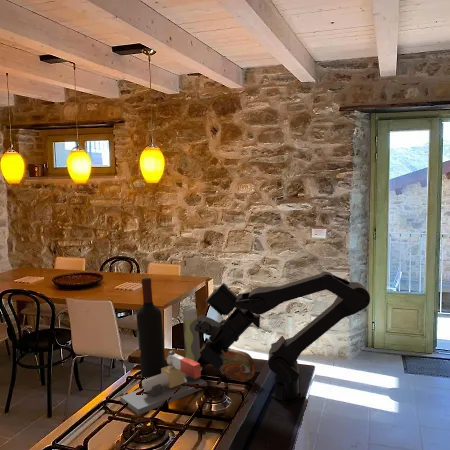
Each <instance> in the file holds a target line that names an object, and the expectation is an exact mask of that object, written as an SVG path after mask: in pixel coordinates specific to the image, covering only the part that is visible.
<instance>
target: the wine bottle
mask: <svg viewBox="0 0 450 450" xmlns="http://www.w3.org/2000/svg"><path fill="white" fill-rule="evenodd" d="M141 288H142V299H143V300H142V306H141V307H140V308H139V309H138V311H137V312H136V325H137V327H136V328H137V340H138V351H139V362H140V364H139V365H140V375H141V378H143V377H145V378H146V377H153V376H156V375H159V374H161V368H164V367H166V358H165V357H166V356H165V344H164V342H165V341H164V332H163V331H164V330H163V329H164V328H163V316H162V310H161V309H160V308H159V307H158V306H156V305H155V304H154V301H153V290H152V289H153V288H152V278H151V277H143V278H141ZM145 378H144V379H145Z"/></svg>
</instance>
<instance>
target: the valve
mask: <svg viewBox="0 0 450 450" xmlns="http://www.w3.org/2000/svg"><path fill="white" fill-rule="evenodd" d="M195 362H196V361H195ZM200 369H201V372H202V370H203V367H200ZM183 383H186V384H199V385H204V386H207V387H208V382H207V381H206V380H204V379H202V378H201V376H200V377H198V378H195V379H194V378H193V377H191V376H189V375H187V374H185V373H183V372H181V370H180V369H178V368H176V367H174V366H172V365H167V366H166V365H165V367H164V368H161V374H159V375H156V376H153V377H150V378H147V379H145V378H144V379H143V380H142V381H141V386H142V388H140V389H137V390H135V391H132V392H129V393H127V394H124V395H121V396H120V402H121V403H122V404H123V405H124V404H125V403H128V406H126V407H127V408H129V409H130V410H131V411H132V412H134V413H135V414H137V415H138V416H140V415H142V414H144V413H147V412H149V411H152V410H154V409H157V408H160V407H161V406H160V405H161V404H162V403H163V402H164V401H166V400H168V399H169V398H170V397H172V398H171V399H170V400H169V402H168V403H167V404H169V403H173V402H174V401H177V400H179V399H182V398H184V397H186V396H187V397H188V396H190V395H191V394H194V393H196V392H199V391H201V390H202V389H200V388H199V389H196V388H194V387H190V386H186V385H185V386H182V385H181V384H183ZM161 387H162V389H161ZM179 387H180V389H179V390H178V391H177V392H176V393H175V394H174V392H175V391H176V390H177V389H178V388H179ZM141 389H144V391H145V392H147V393H148V394H143V395H142V394H141V395H136V393H137V392H139V391H140V390H141ZM159 406H160V407H159Z"/></svg>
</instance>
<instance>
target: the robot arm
mask: <svg viewBox="0 0 450 450" xmlns="http://www.w3.org/2000/svg"><path fill="white" fill-rule="evenodd" d="M326 290H327V291H328V292H330V293H332V294H333V295H335V296H336V298H335V299H334V301H333V302H332V303H331V304H330V306H328V307H327V308H326V309H325V310H323V312H321V313H320V314H318V315H317V316H316V317H315V318H314V319H313V320H311V321H310V322H308V323H307V324H306V325H305V326H304V327H303V328H301V329H300V330H299V331H298V332H296V334H294V335H293V336H291V337H289V338H287V339H286V338H285V337H284V335H281V336H280V337H279V338H278V340H277V341H275V342H273V343H271V344H270V346H271V347H270V349H269V351H268V362H267V363H268V368H269V369H270V371H271V372H273V373H274V374H275V376H274V378H275V381H274V393H271V398H274V399H276V400H278V401H280V402H282V403H285V404H287V405H291V404H293V403H295V402H298V401H299V400H301V399H303V398H305V397H306V394H305V393H303V392H301V374H300V373H301V372H300V370H299V363H298V362H299V361H298V359H299V357H300V356H301V353H302V352H303V351H305V350H306V349H307V348H309V347H310V346H311V345H312V344H313V343H315V342H316V341H317V340H319V338H321V337H322V336H323V335H324V334H326V333H327V332H328V331H330V330H331V329H333V327H334V326H335V325H336V324H338V323H339V322H341V321H342V319H345V318H347V317H351V316H353V315H356V314H358V313H359V312H361V311H363V310H365V309H367V307H368V306H369V305H370V303H371V295H370V293H369V291H368V289H366V288H365V286H364V285H363V284H362V283H360V282H355V281H351V282H350V281H349V280H346V279H344V278H342V277H339V276H337V275H334V274H333V273H332V272H330V271H322V272H320V273H318V274H315V275H312V276H308V277H305V278H302V279H298V280H295V281H292V282H289V283H286V284H282V285H279V286H278V285H276V286H271V285H270V286H262V287H261V286H260V287H254V288H253V289H252V290H250V291H248V292H244V293H238V294H236V293H235V292H234V291H232V289H230V288H229V286H228V285H227V284H226V283H225V282H223V283H221V285H219V286H218V287H217V288H215V289H214V290H213V291H212V293H210V294H209V296H208V297H207V298H206V300H205V302H206V303H207V304H208V305H209V306H210V307H211V308H212V309H214V311H215V312H217V314H219V315H220V316H228V317H227V318H226V319H222V320H221V321H220V322H218V321H217V320H215V319H213V318H211V317H208V316H206V315H203V314H200V315H199V316H198V317H197V319H198V321H197V323H196V325H195V328H194V330H195V331H197V332H199V333H202V334H204V335H206V336H208V337H205V339H204V342H203V344H202V346H201V348H200V356H199V358H198V360H197V361H196V362H197V363H200V367H202V368H203V367H205V366H208V365H211V366H213V368H214V369H215V368H216V369H219V368H220V367H221V366H222V365H223V362H224V354H223V351H224V352H225V353H226V352H227V351H228V349H229V348H230V347H231V346H232V345H233V344H234V343H237V342H238V341H239V339H240V337H241V336H242V335H243V333H244V332H245V331H246V330H248V329H249V327H250V326H251V325H252V324H253V325H255V327H256V328H258V329H260V326H261V315H263V314H265V313H267V312H269V311H271V310H273V309H275V308H276V307H278V306H279V305H281V304H283V303H286V302H288V301H289V302H290V301H293V300H296V299H298V298H299V299H300V298H302V297H306V296H309V295H311V294H312V295H313V294H315V293H319V292H322V291H326ZM229 314H230V315H229ZM222 350H223V351H222ZM216 369H215V370H216Z"/></svg>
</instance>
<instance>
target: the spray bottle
mask: <svg viewBox="0 0 450 450" xmlns="http://www.w3.org/2000/svg"><path fill="white" fill-rule="evenodd" d="M182 317H183V318H182V322H183V323H182V324H183V339H184V358H186V357H187V358H189V359H191V360H193V361H197V360H198V358H199V356H200V355H201V354H200V351H201V347H200V335H199V334H200V332H197V331H195V330H194V328H195V325H196V323H197V321H198V313H197V308H196V307H195V306H193V305H188V306H186V307H184V309H183V313H182Z"/></svg>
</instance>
